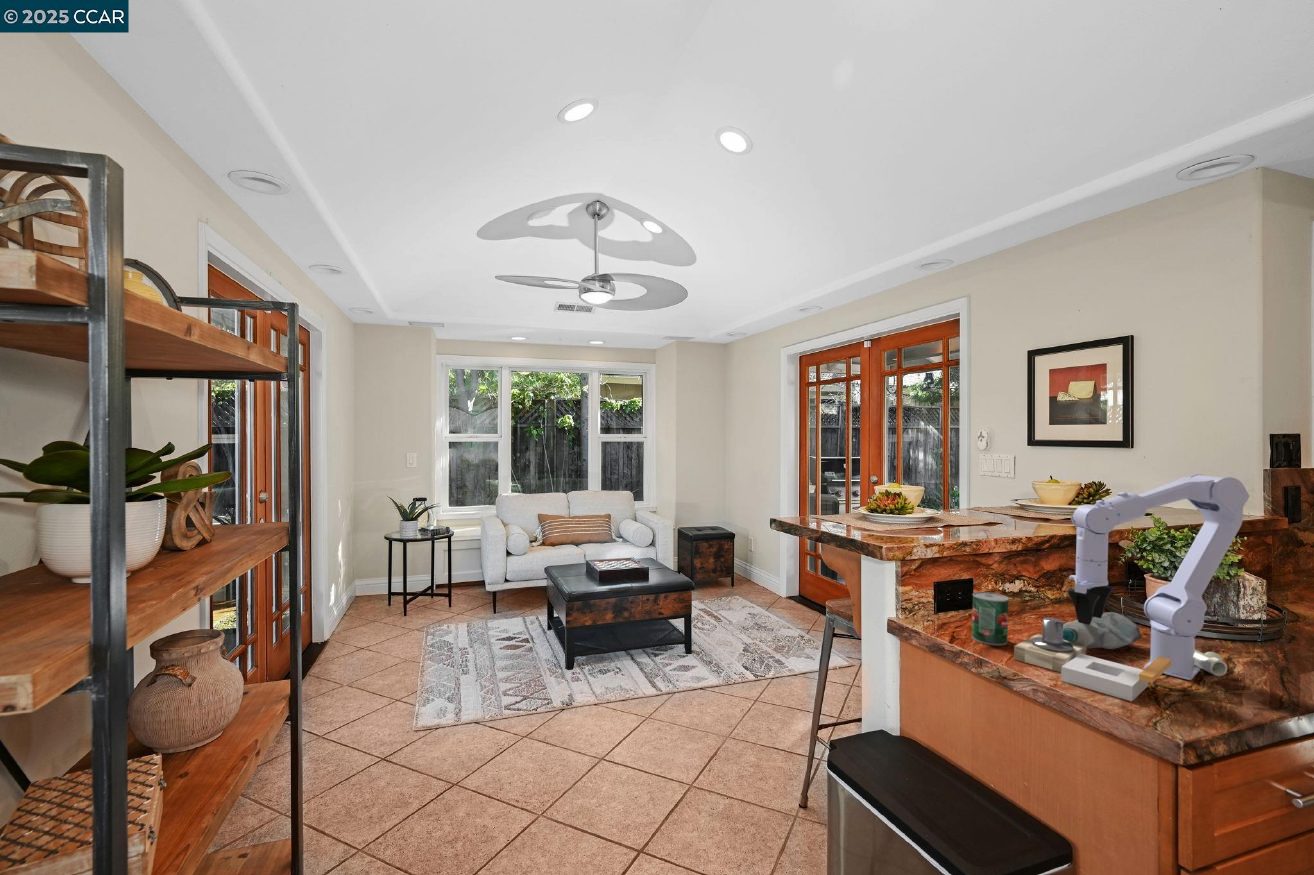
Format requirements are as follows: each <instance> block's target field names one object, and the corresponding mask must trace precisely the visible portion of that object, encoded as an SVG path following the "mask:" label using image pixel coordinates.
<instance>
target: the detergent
mask: <svg viewBox="0 0 1314 875" xmlns="http://www.w3.org/2000/svg"><path fill="white" fill-rule="evenodd" d="M1142 638H1143V635H1142V634H1141V631H1140V629H1139V626H1138V625H1137V624H1136V623H1135V621H1133V620H1132V619H1130V618H1128V617H1127V616H1125V615H1123V614H1120V613H1117V612H1113V611H1112V612H1111V611H1109V612H1103V615H1102V617H1101V618H1097V617H1092V621H1091V623H1090V625H1087V624H1083V623H1079V622H1078V619H1075V620H1073V621H1072V620H1071V621H1067V622H1066V623H1064V625H1063V640H1065V641H1068V642H1073V643H1077V644H1081V645H1086V650H1087V649H1095V648H1102V649H1106V650H1115V649H1119V648H1122V647H1125V646H1128V645H1131V644H1133V643H1135V642H1136V641H1138V640H1140V639H1142Z"/></svg>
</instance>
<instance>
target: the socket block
mask: <svg viewBox="0 0 1314 875" xmlns="http://www.w3.org/2000/svg"><path fill="white" fill-rule="evenodd" d="M1143 670H1144V669H1141V668H1139V667H1134V666H1130V665H1127V664H1123V663H1118V662H1114V661H1111V660H1106V659H1102V658H1098V657H1095V656H1091V655H1087V654H1086V655H1084V654H1080V655H1078V656H1077V657H1075V658H1074V659H1072V660H1071V661H1069V662H1068V663H1066V664H1065V665H1063V666H1062V667H1061V672H1060V674H1061V675H1060V676H1061V677H1060V681H1061V682H1064V683H1067V684H1069V685H1075V686H1078V687H1080V688H1084V689H1088V690H1090V691H1091V690H1092V691H1095V692H1098V693H1102V694H1105V695H1109V696H1112V697H1115V698H1119V699H1122V700H1125V701H1129V702H1133V701H1134V700H1135V699H1136V698H1138V696H1139V695H1141V693H1142V692H1143V691H1145V689H1147V687H1148V686H1149V682H1145V681H1142V680H1139V674H1140V673H1141V672H1142V671H1143Z"/></svg>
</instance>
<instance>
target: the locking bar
mask: <svg viewBox="0 0 1314 875" xmlns="http://www.w3.org/2000/svg"><path fill="white" fill-rule="evenodd" d="M1170 666H1171V659H1168V658H1164V657H1160V656H1159V657H1158V658H1157V659H1156V660H1154V661H1153V662H1152V663H1151V664H1150V665H1149V666H1148V667H1147V668H1143V669H1142V670H1143V671H1142V672H1141V673H1140V674H1139V680H1142V681H1145V682H1148V684H1153V683H1154V682H1155V681H1156V680H1157V679H1159V677H1161V675H1163V674H1164V673H1163V672H1164V671H1165V670H1166V669H1167V668H1169V667H1170Z"/></svg>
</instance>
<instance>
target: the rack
mask: <svg viewBox="0 0 1314 875" xmlns="http://www.w3.org/2000/svg"><path fill="white" fill-rule="evenodd" d="M1034 637H1042V633H1041V634H1040V633H1036V634H1035V635H1033V636H1030V637H1029V638H1027V639H1025V640H1022V641H1021V642H1020V643H1018V644H1015V645H1014V646H1013V660H1015V661H1016V660H1017V661H1019V662H1023V663H1026V664H1030V665H1034V666H1037V667H1041V668H1044V669H1048V670H1051V671H1053V672H1054V671H1055V672H1057V673H1061V667H1062V666H1063V665H1065V664H1066V663H1068V662H1069V661H1071V660H1072V659H1074V658H1075V657H1077V656H1078V655H1080V654H1084V655H1087V649H1086V645H1081V644H1077V643H1073V642H1068V641H1065V640H1064V639H1063V641H1065V642H1068V643H1070V644H1072V645H1073V651H1071V652H1057V651H1051V650H1046V649H1043V648H1040V647H1037V646H1035V645H1034V644H1033V643H1032V638H1034Z"/></svg>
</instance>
